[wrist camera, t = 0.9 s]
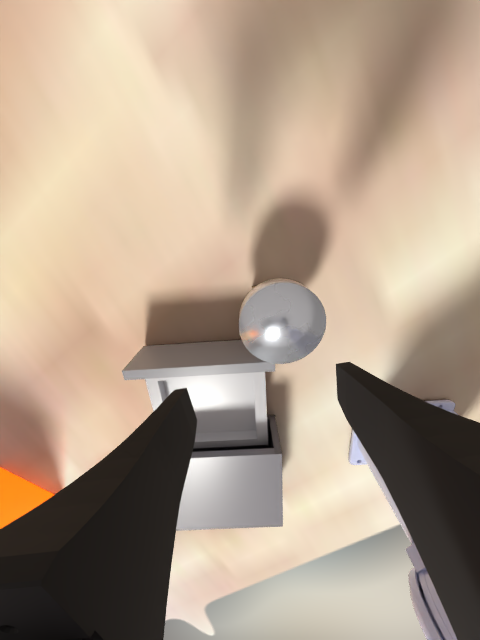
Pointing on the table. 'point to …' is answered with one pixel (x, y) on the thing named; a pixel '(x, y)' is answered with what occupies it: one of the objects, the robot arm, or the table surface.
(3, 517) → the orange juice
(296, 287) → the disc
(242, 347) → the grey drawer
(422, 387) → the table surface
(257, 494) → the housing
